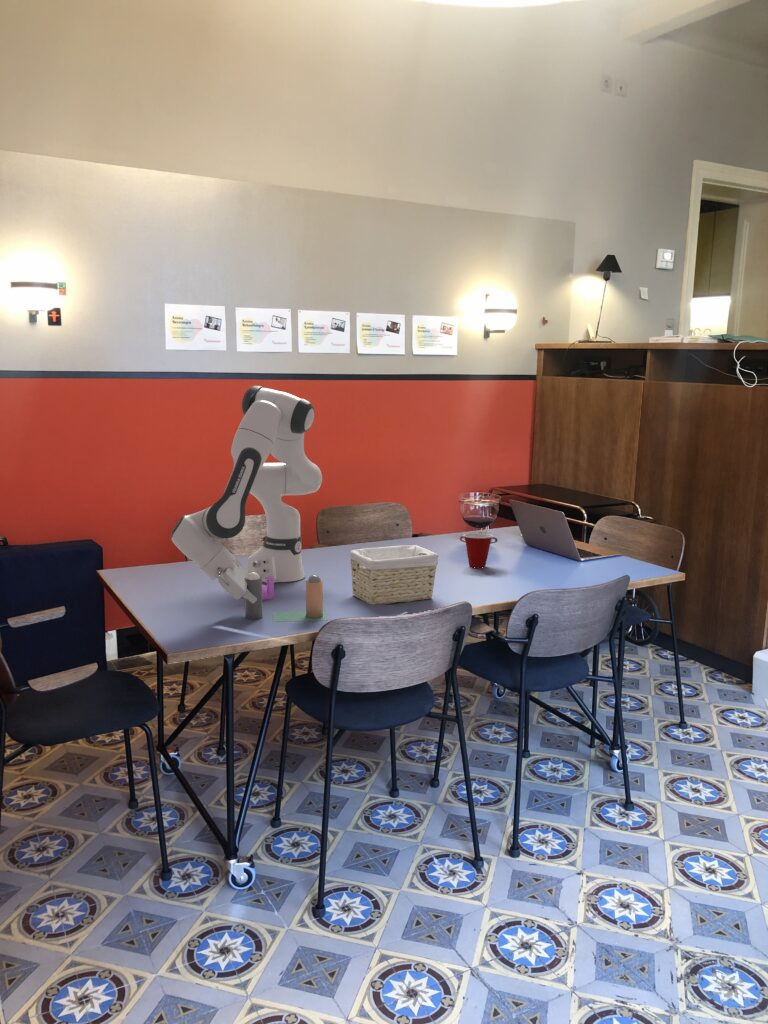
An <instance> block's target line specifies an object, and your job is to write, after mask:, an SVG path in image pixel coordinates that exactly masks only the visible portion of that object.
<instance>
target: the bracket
mask: <svg viewBox="0 0 768 1024" xmlns="http://www.w3.org/2000/svg"><path fill="white" fill-rule="evenodd" d="M273 599H275V583H274V579H273V576H272V575H271V576H267V583H266V585H265V584H262V601H263V600H273Z"/></svg>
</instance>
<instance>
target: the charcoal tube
mask: <svg viewBox="0 0 768 1024" xmlns="http://www.w3.org/2000/svg"><path fill="white" fill-rule="evenodd" d="M245 581H246V582H247V589H248V590H249V592H251V593H252V594H254V595H255V596H256V597H257V601H256V602H255V603H251V602H250V601H249V600H248V599H246V598H244V616H245V619H246V620H249V621H250V620H251V621H256V620H257V621H258V620H261V619H263V615H264V613H263V600H262V585H263V582H262V577H260V576H259V574H258V573H256V572H251V573H249V574H248V576H247V577H246V578H245Z"/></svg>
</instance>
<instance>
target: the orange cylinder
mask: <svg viewBox="0 0 768 1024" xmlns="http://www.w3.org/2000/svg"><path fill="white" fill-rule="evenodd" d="M323 584H324V580H322V579H321V578H320V576H319V575H317V574H312V575H310V576H309V578H308V579H307V580H305V611H306V617H309V618H320V617H322V616H323V611H324V603H323V602H324V585H323Z"/></svg>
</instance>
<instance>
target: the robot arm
mask: <svg viewBox="0 0 768 1024" xmlns="http://www.w3.org/2000/svg"><path fill="white" fill-rule="evenodd" d="M241 411H242V413H243V416H242V419H241V421H240V423H239V425H238V427H237V430H236V432H235V434H234V437H233V440H232V444H231V450H230V455H231V457H232V460H233V468H232V471H231V474H230V476H229V479H228V480H227V481H228V482H227V484H226V487H225V489H224V491H223V494H222V495H221V497H220V498H219V499H218V500H217V501H216V502H215V503H214V504H213V505H210V506H209V507H206V508H205V509H203V510H200V511H197V512H194V513H191V514H184V515H183V516H181V517H180V518H179V520H178V521H177V522H176V523H175V525H174V526H173V528H172V530H171V532H170V539H171V542H172V543H173V544H174V545H175V546H176V548H177V549H178V550H179V551H180V552H181V553H182V554H183V555H184V556H185V557H187V559H189V560H191V561H192V562H194V563H195V564H196V565H197V566H198V568H199V570H201V571H202V572H203V573H204V574H205V575H206V576H208V578H209V579H211V581H215V580H216V579H217V581H218V583H219V585H220V586H221V587H222V589H224V590H225V591H226V593H228V594H229V595H230V596H231V598H233V599H234V600H237V601H238V600H239V599H241V597H242V598H244V599H245V598H246V599H248V600H249V601H250V602H251V603H255V602H256V601H257V597H256V596H255V595H254V594H252V593H251V592H249V590H248V589H247V582H246V581H245V578H246V577H247V576H248V574H249V573H251V572H256V573H258V574H259V576H260V577H262V583H265V584H267V576H271V575H272V576H273V579H274V584H276V583H287V582H288V583H289V582H296V581H300V580H302V579H304V578H306V574H305V571H304V570H305V569H304V566H303V559H302V558H303V557H302V546H303V545H302V541H303V540H302V535H301V515H300V512H299V510H298V509H296V508H295V507H293V506H291V505H289V504H287V503H285V502H283V500H282V497H284V496H301V495H302V496H304V495H305V496H306V495H309V494H312V493H316V492H318V490H319V489H320V488H321V485H322V483H323V474H322V471H321V469H320V467H319V466H318V465H317V464H316V463H314V462H312V461H311V460H310V459H309V458H308V457H307V454H306V453H305V433H306V432H307V431H309V430H310V428H311V426H312V424H313V423H314V419H315V407H314V406H313V404H312V403H311V401H309V400H307V399H306V398H300V397H299V396H296V395H294V394H291V393H289V392H285V391H281V390H276V389H274V388H268V387H265V386H262V385H253V386H251V387H249V388H248V389H247V390H246V391H245V393H244V395H243V397H242V400H241ZM270 454H271V456H272V457H273V458H274V459H276V460H277V462H266V461H267V460H268V457H269V455H270ZM278 461H279V462H278ZM249 495H252V496H253V497H255V498H256V499H257V501H259V503H260V505H261V506H262V507H263V510H264V512H265V513H264V514H265V519H266V533H267V534H266V535H265V536H264V537H261V538H260V542H261V543H262V542H263V543H262V546H261V547H260V548H259V549H257V550H256V551H255V552H253V553H252V554H251V555H250V556H249V557H248V559H247V562H246V567H245V566H244V565H243V564H242V563H241V562H240V560H238V558H237V557H236V556H235V554H234V552H233V551H232V550H231V549H228V548H227V547H225V545H223V544H222V542H223V540H224V539H233V538H235V537H236V536H238V535H239V534H240V533H241V532H242V531H243V529H244V527H245V525H246V524H245V523H246V504H247V500H248V497H249Z"/></svg>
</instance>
